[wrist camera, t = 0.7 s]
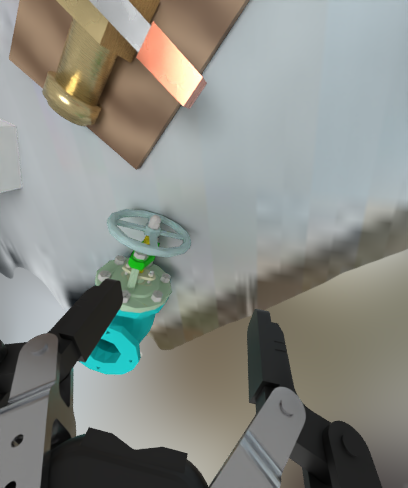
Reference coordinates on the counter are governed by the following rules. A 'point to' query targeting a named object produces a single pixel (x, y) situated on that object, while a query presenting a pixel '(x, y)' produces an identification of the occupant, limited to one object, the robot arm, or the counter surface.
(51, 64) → the mounting board
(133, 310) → the valve
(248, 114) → the counter surface
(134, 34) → the valve lever
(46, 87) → the brass valve
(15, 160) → the milk
